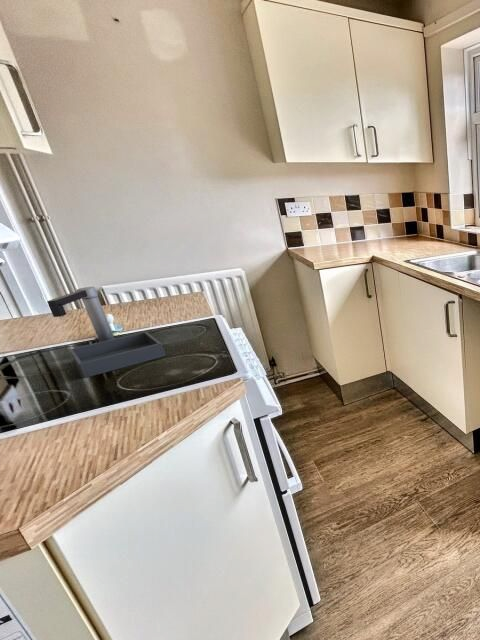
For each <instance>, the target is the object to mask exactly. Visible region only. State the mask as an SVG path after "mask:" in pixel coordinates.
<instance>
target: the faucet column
mask: <svg viewBox="0 0 480 640" xmlns="http://www.w3.org/2000/svg"><path fill="white" fill-rule="evenodd" d="M81 301H82V303H83V306H84V308H85V311H86V313H87V315H88V318H89V320H90V322H91V324H92V327H93V329H94V331H95V335H96V334H97V336H98V338H97V339H98V341H99V342H103V341H107V340H112V339H116V338H115V336H114V335H113V333H112V331H111V328H110V326H109V323H108V321H107V318H106V317H107V315H106V314H105V313H106V312H105V311H104V309H103V306H102V303H101V302H100V298H99V297H98V296H96V297H92V298H86V299H81Z"/></svg>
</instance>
